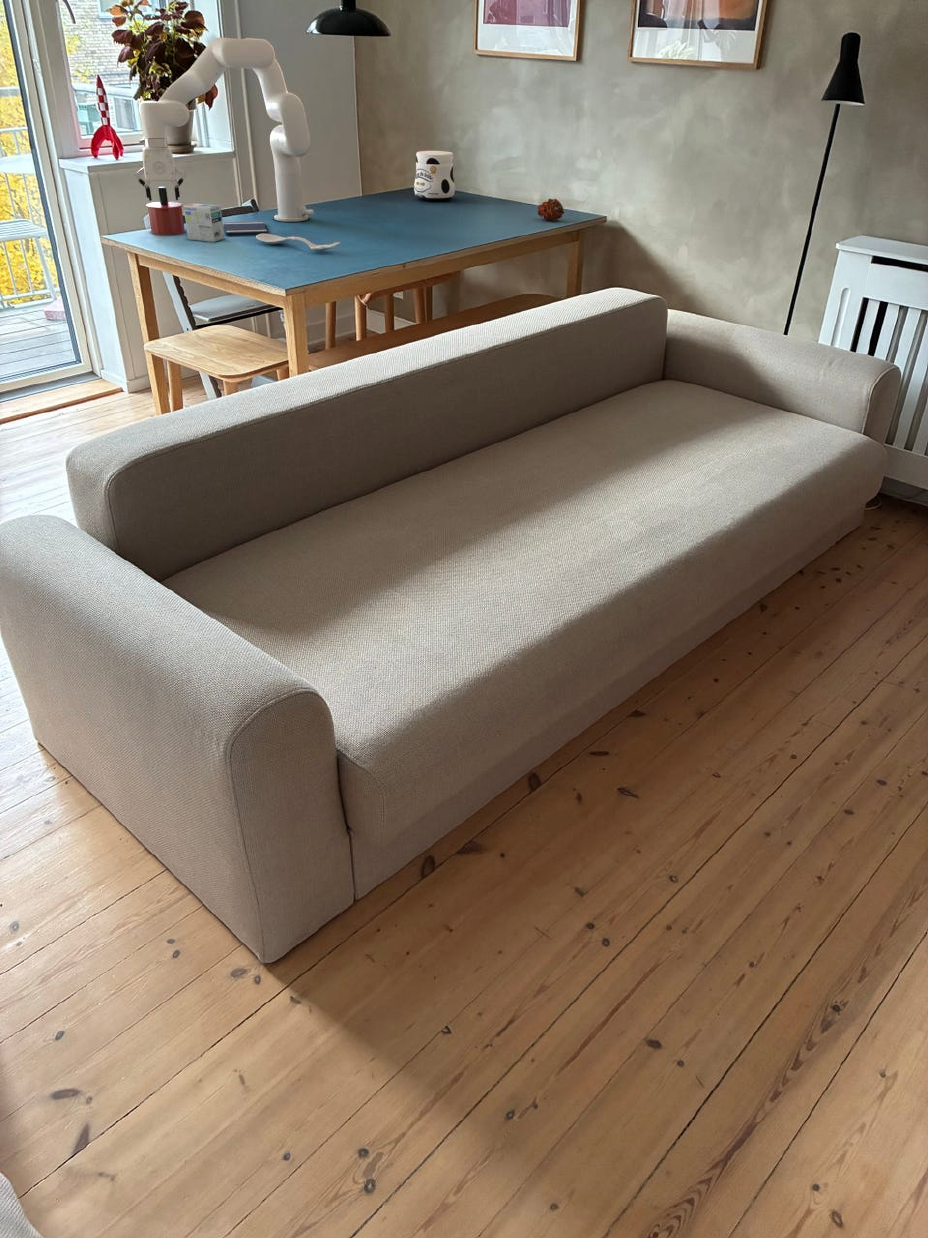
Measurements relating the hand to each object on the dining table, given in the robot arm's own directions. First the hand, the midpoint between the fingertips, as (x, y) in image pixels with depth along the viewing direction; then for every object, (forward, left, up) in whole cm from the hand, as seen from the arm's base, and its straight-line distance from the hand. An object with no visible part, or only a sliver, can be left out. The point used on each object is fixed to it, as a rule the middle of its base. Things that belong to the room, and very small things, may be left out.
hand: (163, 199), depth 326 cm
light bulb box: (-18, +8, -11) cm, 22 cm away
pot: (0, 0, -11) cm, 11 cm away
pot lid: (0, 0, -2) cm, 2 cm away
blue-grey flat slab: (-24, -11, -11) cm, 29 cm away
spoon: (-51, +14, -11) cm, 54 cm away
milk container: (-74, -98, -11) cm, 124 cm away
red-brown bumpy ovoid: (-127, -62, -11) cm, 142 cm away
